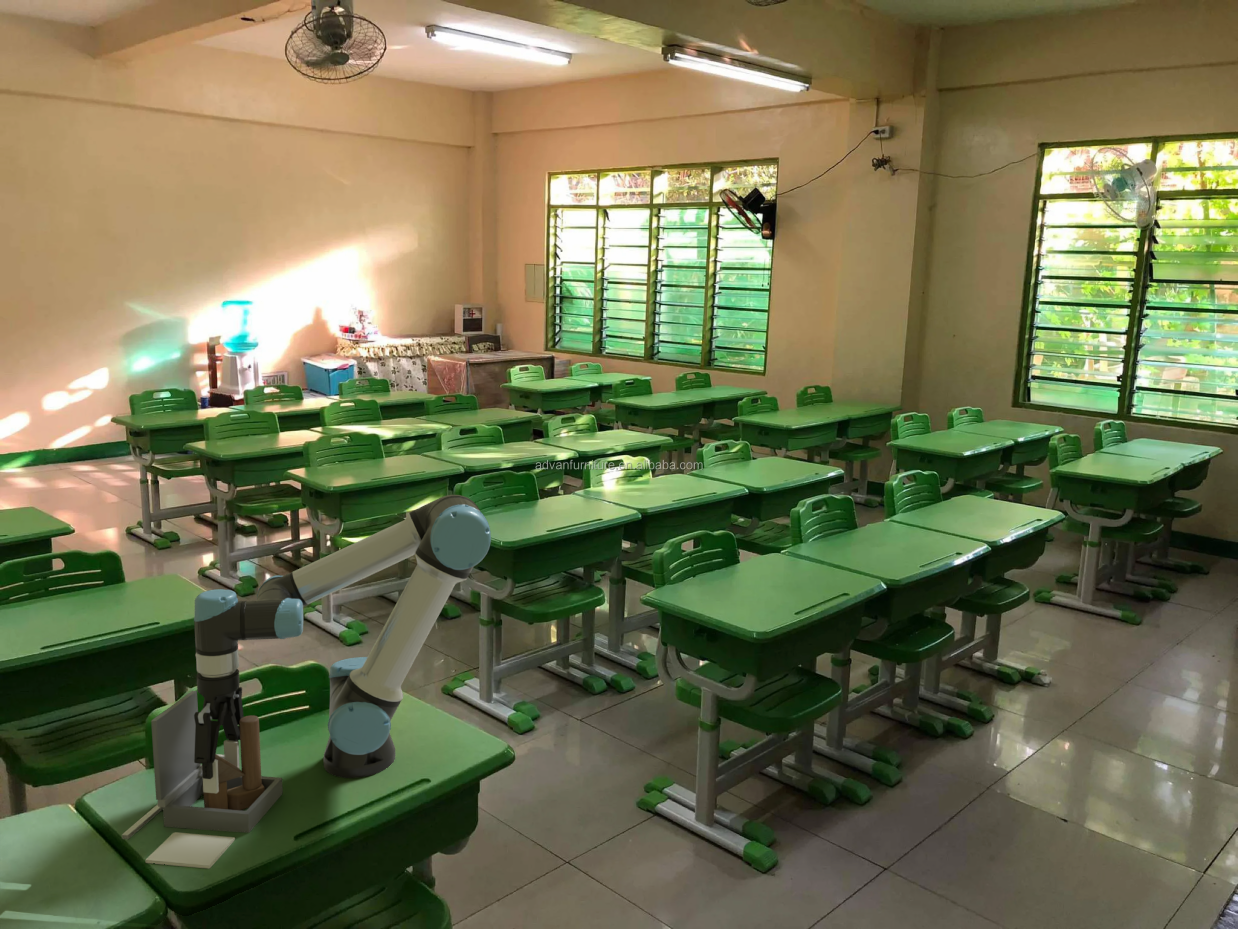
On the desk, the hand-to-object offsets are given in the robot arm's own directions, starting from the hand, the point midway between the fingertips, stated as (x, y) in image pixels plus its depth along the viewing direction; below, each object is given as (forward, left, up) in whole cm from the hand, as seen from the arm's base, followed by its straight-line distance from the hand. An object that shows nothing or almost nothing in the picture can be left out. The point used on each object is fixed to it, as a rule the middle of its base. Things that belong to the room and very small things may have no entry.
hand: (221, 781), depth 186 cm
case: (0, 0, -6) cm, 6 cm away
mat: (-1, +14, -6) cm, 15 cm away
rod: (+13, +6, -7) cm, 16 cm away
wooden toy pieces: (-2, -1, -7) cm, 7 cm away
